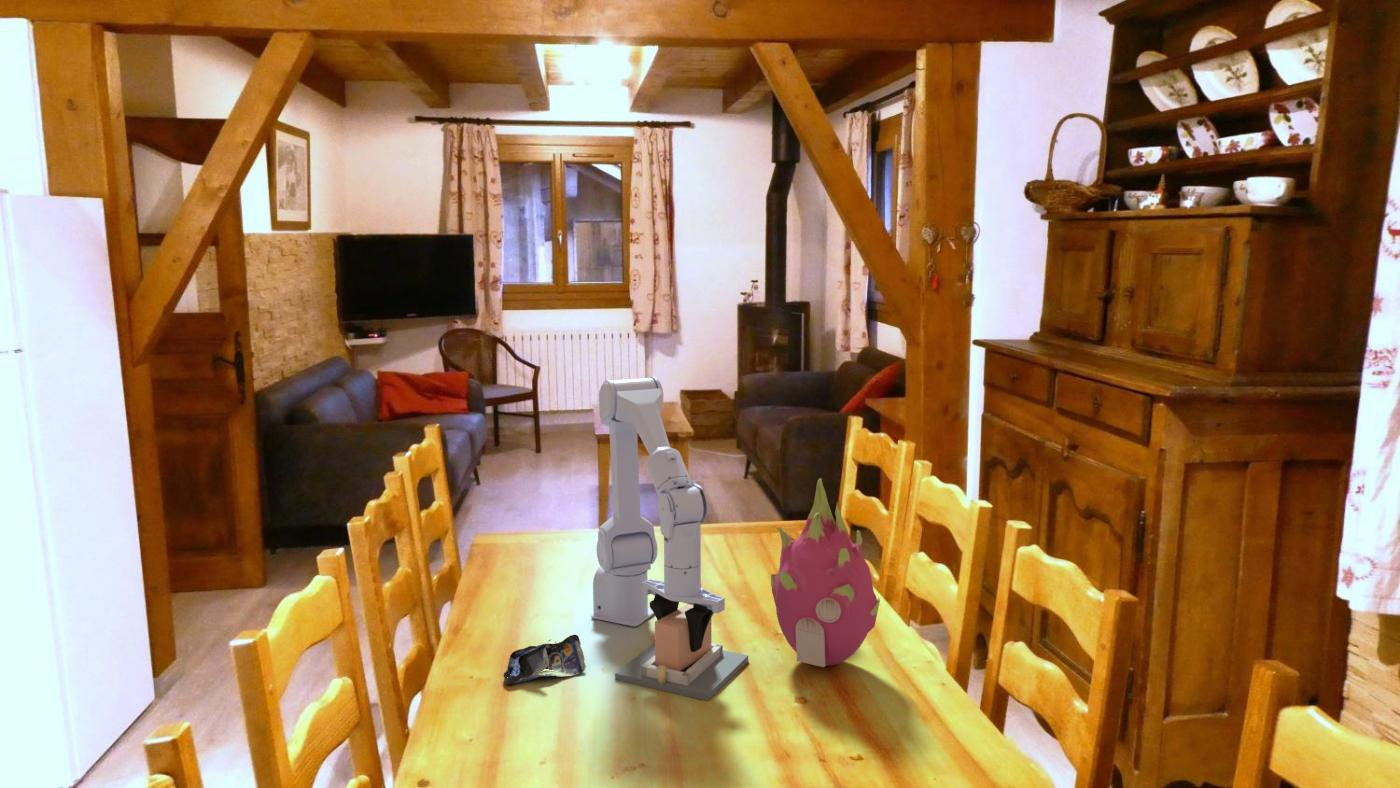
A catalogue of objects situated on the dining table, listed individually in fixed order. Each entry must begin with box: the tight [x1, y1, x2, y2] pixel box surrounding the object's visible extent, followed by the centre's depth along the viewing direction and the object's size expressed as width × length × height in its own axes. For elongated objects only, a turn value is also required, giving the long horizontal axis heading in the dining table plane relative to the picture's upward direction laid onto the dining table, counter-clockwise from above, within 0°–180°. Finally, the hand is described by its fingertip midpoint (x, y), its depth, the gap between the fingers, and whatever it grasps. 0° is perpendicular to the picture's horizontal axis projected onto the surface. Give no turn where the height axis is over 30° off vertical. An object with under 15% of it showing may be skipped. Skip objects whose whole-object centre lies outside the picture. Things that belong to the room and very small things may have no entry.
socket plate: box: [614, 642, 749, 702], centre depth 152 cm, size 16×15×4 cm
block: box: [654, 603, 712, 671], centre depth 152 cm, size 9×4×7 cm, turn 145°
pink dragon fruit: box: [770, 477, 881, 668], centre depth 152 cm, size 18×14×30 cm
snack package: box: [503, 634, 587, 686], centre depth 151 cm, size 12×7×12 cm
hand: (682, 645), depth 152 cm, fingers closed on block, 4 cm apart
